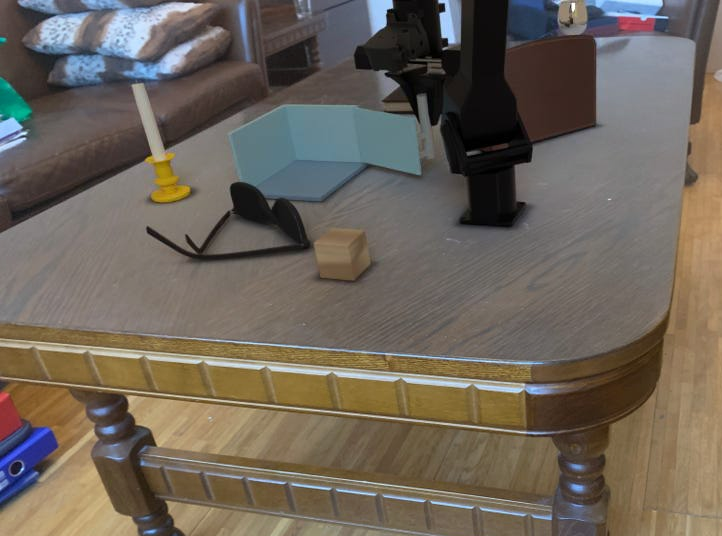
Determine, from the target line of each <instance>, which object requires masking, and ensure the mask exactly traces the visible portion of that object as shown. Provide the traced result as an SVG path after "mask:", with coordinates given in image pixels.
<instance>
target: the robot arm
mask: <svg viewBox="0 0 722 536" xmlns="http://www.w3.org/2000/svg"><path fill="white" fill-rule="evenodd" d="M391 2H392V8H391V7H390V8H387V9H386V14H385V20H386V24H385V26H384V27H382V28H381V29H379V30H377V32H375V34H373V35H372V36H371V37H370V38H369V39H368V40H367V41H366V42H365V43H363V44H359V45H357V46H356V48H355V50H354V53H353V59H354V60H353V61H354V67H355V69H356V70H362V71H371V70H372V71H373V72H379V71H385V72H384V73H383V75H384V77H386V78H388V79H391V80H393V81H394V83H397V84H398V85H399V86H401V88H402V90H403V92H404V93H405V95H406V97H407V99H408V101H409V103H410V106H411V108H412V110H413V112H414V113H413V114H414V117H415V119H416V121H417V123H418V125H420V120H419V112H418V103H417V95H418V94H424V93H426V96H427V105H428V114H429V119H430V124H431V126H432V127H436V126H437V125H438V124H439V122H440V124H439V132H440V135H441V136H440V137H441V139H442V142H443V147H444V152H445V157H446V160H447V163H448V166H449V173H450V174H452V175H460V176H462V177H463V178H465V179H466V191H467V192H466V193H467V205H468V208H467V209H465V212H463V214H462V215H461V216H460V217H459V218H458V219H459V220H458V221H459V223H460V224H466V225H467V224H468V225H483V226H499V227H512V226H513V225H514V224H515V222H516V221H517V220H518V218H519V217H520V216H521V214H522V213H523V212H524V211H525V209H526V207H527V203H526V202H525V201H517V200H518V199H517V184H516V166H518V165H522V164H530V163H532V159H533V150H534V146H533V143H531V141H530V139H529V136H528V134H527V131H526V129H525V126H524V124H523V122H522V119H521V117H520V114H519V112H518V109H517V98H516V96H515V94H514V93H513V91H512V89H511V87H510V86H509V84H508V82H507V80H506V79H505V59H506V49H507V43H508V29H509V27H508V25H509V13H510V12H509V10H510V0H460V44H457V45H454V46H452V47H449V45H450V44H449V38H448V37H443V36H442V25H441V14H442V13H446V12H447V11H446V2H439V0H391ZM448 47H449V48H448ZM426 57H427V58H426ZM429 57H430V58H429ZM431 57H432V58H431ZM417 64H420V65H417ZM427 65H428V71H427ZM442 111H443V112H444V113H441V112H442ZM503 144H508V147H506V148H502V149H497V150H492V151H488V152H485V151H482V152H478V153H474V154H470V155H469V154H468V153H470V152H474V151H479V150H480V149H484V148H489V147H494V146H498V145H503ZM480 151H481V150H480Z"/></svg>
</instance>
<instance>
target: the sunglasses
mask: <svg viewBox="0 0 722 536" xmlns="http://www.w3.org/2000/svg"><path fill="white" fill-rule="evenodd" d="M229 193H230V198H231V201H232V205H233V207H232V209H229V210H227V211H226V212H225V213H224V214H223V215H222V217H220V219H219V220H218V221H217V223H216V224H215V225H214V226H213V228H212V229H211V230H210V232H209V233H208V235H207V237H206V238H205V239H204V241H203V242H202V245H201V246H200V247H198V246H197V245H196V243H195V242H194V241H193V240H192V238H191V237H190V236H189V235H188V234H187V233H186V234H184V238H185V241H186V244H187V245H188V246H189V247H190V248H191V249H192V250H193V251H194V252H192V251H189V250H186V249H185V248H183V247H181V246H179V245H177V244H176V243H175V242H174V241H171V240H170V239H169V238H168V237H166V236H164V235H162V234H161V233H159V232H158V231H156V230H155V229H154V228H152V227H151V226H150V225H147V226H146V227H145V229H146V234H147V235H149V236H151V237H152V238H154V239H156V240H157V241H158V242H161V243H162V244H164V245H165V246H167V247H169V248H171V249H172V250H174V251H176V252H177V253H178V254H181V255H183V256H185V257H187V258H191V259H194V260H204V261H205V260H206V261H209V260H211V261H213V260H226V259H237V258H247V257H255V256H256V257H257V256H264V255H272V254H279V253H286V252H293V251H300V250H303V249H306V248H309V247H311V242H310V240H309V238H308V236H307V232H306V228H305V225H304V222H303V220H302V216H301V215H300V212H299V211H298V209H297V207H296V206H295V205H294V204H293V203H292V202H291V200H287V199H285V198H278V199H275V201H274V203H273V205H272V206H270V205H269V204H270V203H269V202H268V200H267V198H265V197H264V195H263V194H262V193H261V191H260V190H259V189H258V188H256V187H255V186H253V185H251V184H248V183H245V182H239V181H235V182H232V183H231V184H230V186H229ZM232 215H235V216H238V217H240V218H243V219H246V220H249V221H252V222H256V223H262V224H271V225H276V226H277V227H279V228H280V229H281V230H282V231H283V232H284V233H285V234H287V235H288V236H289V237H290V238H291V239H293V240H294V241H295V242H296V243H295V244H288V245H281V246H274V247H273V246H272V247H266V248H259V249H252V250H243V251H235V252H234V251H233V252H227V253H214V254H213V253H211V254H207V253H204V252H205V250H207V247H208V246H209V244H210V242H211V241H212V240H213V238H214V237H215V235H217V233H218V231H220V229H221V228H222V226H223V225H224V224H225V223H226V222H227V221H228V219H229V218H230V217H231V216H232Z"/></svg>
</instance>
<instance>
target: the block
mask: <svg viewBox="0 0 722 536" xmlns="http://www.w3.org/2000/svg"><path fill="white" fill-rule="evenodd" d="M313 248H314V253H315V257H316V262H317V267H318V273H319V276H320V278H322V279H330V280H332V279H333V280H342V281H349V282H350V281H351V282H354V281H356V280H357V279H358V278H359V276H361V275H362V274H363V273H364V272H365V271H366V270H367V269H368V268H369V267H370V266H371V263H372V262H371V257H370V253H369V246H368V240H367V235H366V230H365V229H355V228H354V229H353V228H340V227H339V228H338V227H331V228H330V229H328V230H327V231H326V232H325V233H323V234H322V235H321V236H320V237H318V239H317V240H315V241H314V242H313Z"/></svg>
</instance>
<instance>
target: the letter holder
mask: <svg viewBox="0 0 722 536" xmlns="http://www.w3.org/2000/svg"><path fill="white" fill-rule="evenodd" d="M505 79H506V80H507V82H508V84H509V86H510V87H511V89H512V91H513V93H514V94H515V96H516V98H517V109H518V112H519V114H520V117H521V119H522V122H523V124H524V126H525V129H526V131H527V134H528V136H529V139H530V141H531V144H534V143H537V142H540V141H544V140H548V139H552V138H555V137H560V136H562V135H566V134H571V133H574V132H577V131H581V130H585V129H588V128H591V127H596V125H597V42H596V39H595V38H594V36H592V35H591V34H580V35H566V36H565V35H557V36H551V37H545V38H539V39H535V40H530V41H526V42H524V43H523V42H522V43H521V44H518V45H515V46H511V47H509V48H506V59H505ZM506 147H508V144H503V145H498V146H494V147H489V148H484V149H480V151H482V152H488V151H492V150H497V149H502V148H506Z"/></svg>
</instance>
